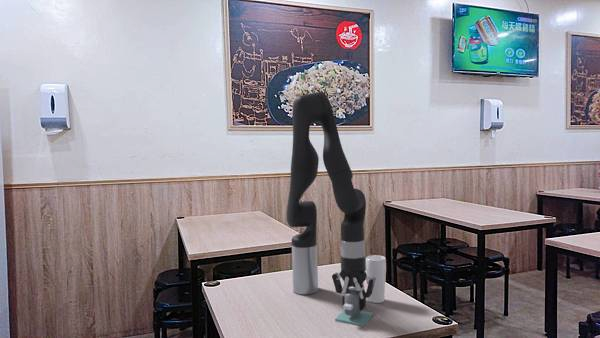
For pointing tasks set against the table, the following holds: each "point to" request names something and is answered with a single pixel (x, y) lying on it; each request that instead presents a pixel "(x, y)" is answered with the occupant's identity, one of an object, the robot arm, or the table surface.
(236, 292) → the table surface
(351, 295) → the grey lobed figure
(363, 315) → the mat
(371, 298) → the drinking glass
